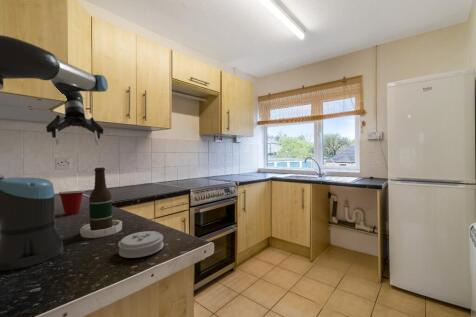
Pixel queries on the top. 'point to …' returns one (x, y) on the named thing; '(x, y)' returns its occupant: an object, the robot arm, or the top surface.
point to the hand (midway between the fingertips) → (77, 142)
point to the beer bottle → (100, 203)
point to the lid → (140, 244)
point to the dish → (114, 229)
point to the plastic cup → (71, 201)
